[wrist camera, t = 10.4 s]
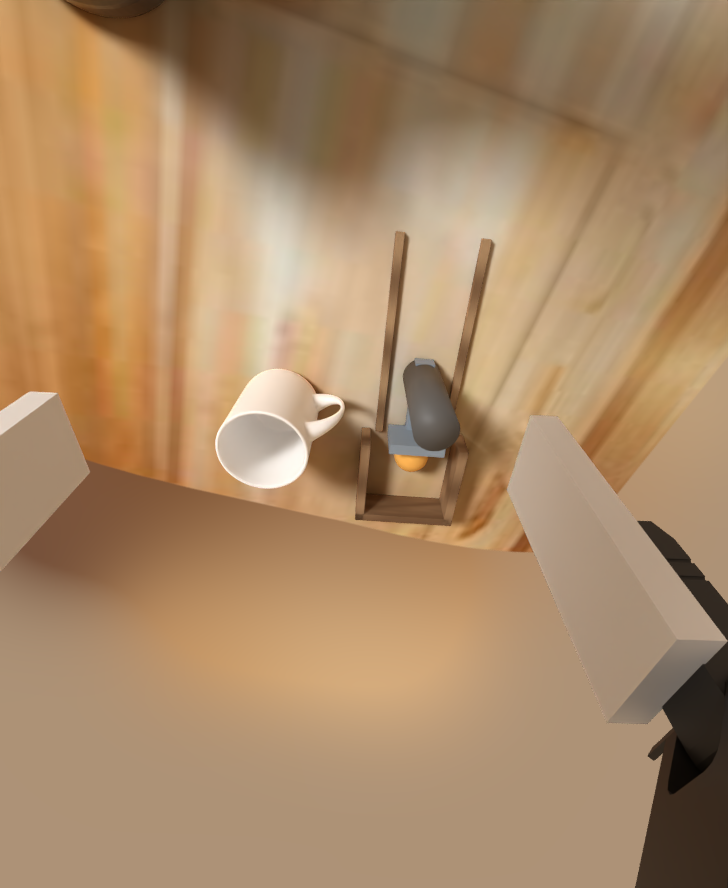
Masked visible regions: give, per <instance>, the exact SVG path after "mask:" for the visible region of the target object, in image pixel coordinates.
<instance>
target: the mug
mask: <svg viewBox="0 0 728 888" xmlns="http://www.w3.org/2000/svg"><path fill="white" fill-rule="evenodd" d="M334 404H338V405H340V406H341V408H340V410H339V411H338V412H337V413H336V414H334V415H332V416H330V417H328V418H325V419H322V420H318V421H317V418H318V412H319V411H321V410H322V409H324V408H326V407H328V406H331V405H334ZM344 410H345V405H344V402H343V401H342V400H341V399H340V398H339V397H337V396H334V395H330V394H316V392H315V390H314V388H313V387H312V386H311V384H310V383H309V382H308V381H307V380H306V379H305V378H303V377H302V376H301V375H299V374H297V373H295V372H293V371H290V370H285V369H270V370H266V371H263V372H261V373H259V374H258V375H256V376H255V377H254V378H252V379H251V381H250V382H249V383H248V384H247V386H246V387H245V389H244V390H243V392H242V394H241V395H240V397H239V398H238V400H237V402H236V403H235V405H234V406H233V408H232V410H231V411H230V413H229V415H228V416H227V418H226V419H225V421H224V423H223V424H222V426H221V428H220V429H219V431H218V433H217V436H216V445H215V446H216V452H217V456H218V458H219V461H220V462H221V464H222V466H223V467H224V468H225V470H226V471H227V472H228V473H229V474H230V475H232V476H233V477H234V478H236V479H237V480H239V481H241V482H243V483H245V484H247V485H250V486H253V487H257V488H265V489H271V488H279V487H283V486H285V485H288V484H290V483H292V482H293V481H295V480H296V479H297V478H298V477H299V476H301V474H302V473H303V472H304V470H305V468H306V466H307V463H308V458H309V454H310V449H311V445H312V441H314V440H315V439H317V438H319V437H320V436H322V435H324V434H325V433H327V432H328V431H329V430H331V429H332V428H333V427H334V426H335V425H336V424H337V423H338V422H339V421H340V420H341V418H342V416H343V414H344Z"/></svg>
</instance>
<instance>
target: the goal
mask: <svg viewBox="0 0 728 888" xmlns="http://www.w3.org/2000/svg"><path fill="white" fill-rule="evenodd" d="M370 446H371V438H370V428H362V435H361V447H360V459H359V471H358V483H357V495H356V514H355V520H367V521H383V522H398V523H414V524H429V525H445V526H451V522H452V518H453V514H454V510H455V506H456V502H457V498H458V494H459V490H460V486H461V482H462V478H463V474H464V470H465V466H466V462H467V458H468V454H469V452H468V449H467V447H466V444H465V441H464V439H463V436H462V435H460V434H459V437H458V439H457V440H456V442H455V443H454V444H453V445H451V449H450V453H449V458H448V462H447V467H446V471H445V476H444V480H443V485H442V489H441V494H440V498H439V499H436V498H421V497H406V496H391V495H376V494H366V487H367V477H368V467H369V457H370Z"/></svg>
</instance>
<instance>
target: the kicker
mask: <svg viewBox="0 0 728 888" xmlns="http://www.w3.org/2000/svg"><path fill="white" fill-rule="evenodd" d="M403 381H404V387H405V393H406V398H407V404H408V408H407V415H406V422H405V425H391V424H389V425H388V447H389V454H397V455H411V456H426V457H440V458H444V456H445V451H446V449H447V448H448V447H450V446H451V445H453V444H454V443H455V442H456V440H457V439H458V437H459V434H460V425H459V422H458V419H457V417H456V414H455V411H454V409H453V406H452V403H451V401H450V398H449V395H448V393H447V390H446V387H445V385H444V382H443V379H442V377H441V374H440V371H439V369H438V367H437V365H436V364H435V363H434V360H432V359H419V358H415V360H414V361H413V362H411V363H410V364H409V365H408V366H407V367H406V368H405V370H404V373H403Z"/></svg>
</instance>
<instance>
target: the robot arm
mask: <svg viewBox="0 0 728 888" xmlns="http://www.w3.org/2000/svg"><path fill="white" fill-rule="evenodd" d="M66 1H67V2H69V3H71V4H72V5H74V6H76V7H78V8H80V9H82V10H85V11H87V12H90V13H92V14H95V15H99V16H103V17H110V18H128V17H134V16H138V15H141V14H144V13H146V12H148V11H150V10H152V9H154V8H155V7H157V6H158V5H160V4H161V3H162V2H163V1H164V0H66ZM89 473H90V471H89V468H88V466H87V463H86V461H85V458H84V456H83V453H82V451H81V449H80V446H79V444H78V441H77V439H76V436H75V434H74V431H73V429H72V427H71V424H70V422H69V419H68V417H67V414H66V412H65V409H64V407H63V405H62V402H61V400H60V397H59V395H58V393H46V392H28V393H27V394H25V395H24V396H22V397H21V398H19V399H18V400H16V401H15V402H13V403H12V404H10V405H9V406H7V407H6V408H4V409H3V410H1V411H0V571H1V570H2V569H3V568H4V567H5V566H6V565H7V564H8V563H9V561H10V560H11V559H12V558H13V557H14V556H15V555H16V554H17V553H18V551H19V550H20V549H21V548H22V547H23V546H24V545H25V544H26V543H27V542H28V540H29V539H30V538H31V537H32V536H33V535H34V534H35V533H36V531H37V530H38V529H39V528H40V527H41V526H42V525H43V524H44V523H45V522H46V521H47V519H48V518H49V517H50V516H51V515H52V514H53V513H54V512H55V511H56V509H57V508H58V507H59V506H60V505H61V504H62V503H63V502H64V500H65V499H66V498H67V497H68V496H69V495H70V494H71V493H72V492H73V491H74V489H75V488H76V487H77V486H78V485H79V484H80V483H81V482H82V481H83V480H84V478H85V477H86V476H87V475H88V474H89ZM507 491H508V494H509V496H510V498H511V501H512V503H513V505H514V508H515V510H516V512H517V515H518V517H519V519H520V522H521V524H522V526H523V529H524V531H525V533H526V536H527V538H528V540H529V543H530V545H531V547H532V550H533V552H534V554H535V556H536V558H537V561H538V563H539V566H540V568H541V571H542V573H543V575H544V577H545V580H546V582H547V585H548V587H549V589H550V592H551V594H552V596H553V599H554V601H555V603H556V606H557V608H558V610H559V612H560V615H561V617H562V619H563V622H564V624H565V627H566V629H567V631H568V633H569V636H570V638H571V640H572V643H573V645H574V648H575V650H576V652H577V654H578V657H579V659H580V661H581V664H582V666H583V668H584V671H585V673H586V675H587V678H588V680H589V682H590V685H591V687H592V689H593V692H594V694H595V696H596V699H597V701H598V703H599V706H600V708H601V710H602V713H603V715H604V717H605V720H606V722H607V723H629V724H648V723H649V722H650V721H651V720H652V719H653V718H654V717H655V716H656V715H657V714H658V712H660V711H661V710H662V709H663V710H664V712H665V714H666V715H667V717H668V719H669V721H670V723H671V724H672V727H673V728H672V729H671V730H670V731H669V732H668V733H667V734H666V735H665V736H664V737H663V738H662V739H661V740H660V741H659V742H658V743H657V744H656V745H654V746H653V747H652V749H651V751H650V753H649V754H648V757H650V758H651V759H652V760H656V759H657V758H658V757H659V756H660V755H661V754H662V753H663V756H662V761H661V766H660V771H659V775H658V780H657V785H656V790H655V795H654V800H653V804H652V809H651V814H650V819H649V824H648V828H647V834H646V838H645V843H644V848H643V853H642V857H641V863H640V867H639V872H638V877H637V882H636V886H635V888H728V604H727V603H726V602H725V600H724V599H723V598H722V597H721V595H720V594H719V593H718V592H717V590H716V589H715V588H714V587H713V586H712V584H711V583H710V582H709V581H706V580H705V576H704V575H703V573H702V572H701V571H700V570H699V569H698V567H697V566H696V565H695V564H694V563H691V559H690V558H689V556H688V555H687V554H686V553H685V551H684V550H683V549H682V548H681V547H680V545H679V544H678V543H677V542H676V540H675V539H674V538H672V537H671V536H670V535H668V534H667V533H666V532H664V531H663V530H662V529H660V528H659V527H658V526H656V525H655V524H654V523H652V522H651V521H636V519H635V518H634V517H633V515H632V514H631V513H630V511H629V510H628V509H627V507H626V506H625V505H624V504H623V502H622V501H621V499H620V498H619V497H618V496H617V494H616V493H615V492H614V490H613V489H612V488H611V486H610V485H609V484H608V482H607V481H606V480H605V478H604V477H603V476H602V474H601V473H600V472H599V470H598V469H597V468H596V466H595V465H594V464H593V462H592V461H591V460H590V458H589V457H588V456H587V455H586V453H585V452H584V451H583V449H582V448H581V447H580V445H579V444H578V443H577V441H576V440H575V439H574V437H573V436H572V435H571V433H570V432H569V431H568V429H567V428H566V427H565V425H564V424H563V423H562V421H561V420H560V419H559V418H558V416H543V415H530V418H529V422H528V425H527V428H526V431H525V434H524V437H523V441H522V444H521V447H520V450H519V453H518V456H517V459H516V463H515V466H514V469H513V472H512V475H511V478H510V482H509V485H508V488H507Z"/></svg>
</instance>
